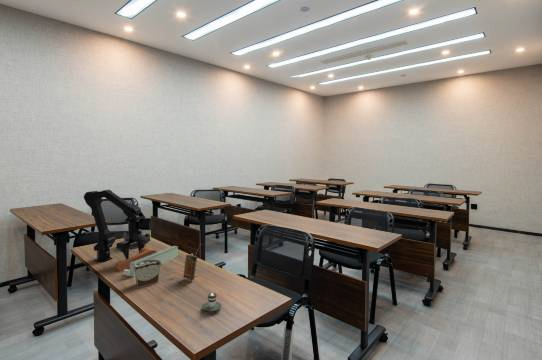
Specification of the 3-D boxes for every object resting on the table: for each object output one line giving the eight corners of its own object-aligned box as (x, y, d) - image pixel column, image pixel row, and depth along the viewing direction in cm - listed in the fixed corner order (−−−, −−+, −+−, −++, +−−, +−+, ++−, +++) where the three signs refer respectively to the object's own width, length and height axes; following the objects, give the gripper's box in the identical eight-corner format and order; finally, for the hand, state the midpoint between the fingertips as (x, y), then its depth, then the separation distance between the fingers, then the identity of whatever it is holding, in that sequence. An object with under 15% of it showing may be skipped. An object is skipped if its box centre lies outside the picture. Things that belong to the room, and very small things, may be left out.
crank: (152, 259, 167) (152, 245, 166) (158, 262, 161) (158, 248, 161) (114, 267, 152) (114, 252, 152) (120, 271, 147) (120, 256, 146)
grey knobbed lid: (199, 316, 106) (200, 303, 106) (194, 302, 117) (194, 290, 117) (231, 310, 111) (231, 298, 111) (222, 297, 122) (223, 285, 122)
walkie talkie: (205, 278, 140) (206, 242, 139) (183, 287, 130) (183, 248, 129) (188, 272, 148) (189, 237, 147) (166, 280, 138) (166, 243, 137)
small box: (141, 249, 184) (141, 232, 184) (131, 251, 179) (131, 234, 178) (133, 245, 191) (133, 230, 190) (123, 247, 186) (123, 231, 185)
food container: (155, 277, 140) (156, 257, 140) (161, 281, 136) (161, 260, 135) (129, 284, 132) (129, 263, 131) (134, 288, 127) (134, 266, 127)
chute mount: (123, 274, 142) (123, 261, 142) (168, 255, 172) (168, 244, 172) (134, 277, 140) (134, 263, 139) (177, 257, 170) (177, 246, 170)
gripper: (131, 234, 148) (131, 264, 149) (157, 227, 166) (157, 254, 167) (115, 232, 152) (115, 261, 153) (142, 225, 170) (142, 251, 171)
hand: (134, 257), depth 161 cm, fingers open, 9 cm apart
